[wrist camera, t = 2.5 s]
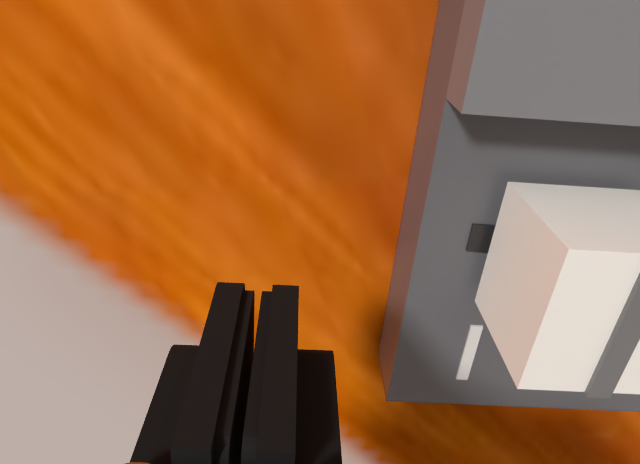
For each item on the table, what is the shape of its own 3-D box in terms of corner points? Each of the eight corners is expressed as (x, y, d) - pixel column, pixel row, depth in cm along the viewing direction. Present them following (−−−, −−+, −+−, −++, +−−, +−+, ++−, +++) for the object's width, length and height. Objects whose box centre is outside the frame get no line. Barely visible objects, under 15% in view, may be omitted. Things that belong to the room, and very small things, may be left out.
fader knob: (650, 189, 13) (759, 261, 10) (598, 308, 15) (676, 401, 12) (508, 179, 13) (572, 250, 10) (474, 302, 15) (518, 394, 12)
